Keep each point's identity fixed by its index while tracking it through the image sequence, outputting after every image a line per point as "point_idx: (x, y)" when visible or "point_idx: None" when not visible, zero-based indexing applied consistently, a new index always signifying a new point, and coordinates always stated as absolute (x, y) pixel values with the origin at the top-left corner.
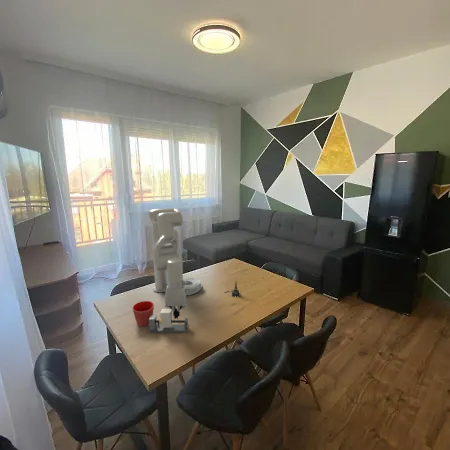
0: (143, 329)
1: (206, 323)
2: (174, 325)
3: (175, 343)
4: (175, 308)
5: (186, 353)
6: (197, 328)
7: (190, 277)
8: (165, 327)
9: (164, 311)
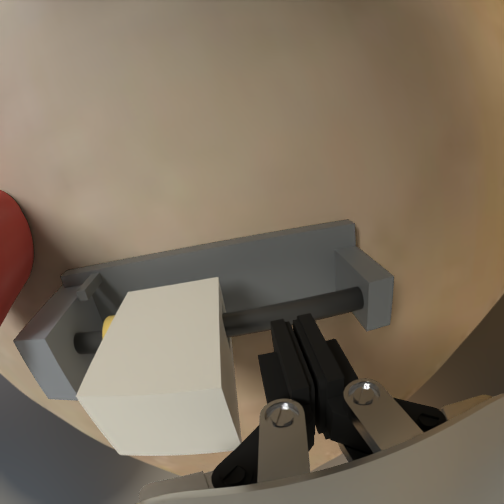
0: None
1: (453, 171)
2: (236, 261)
3: None
4: (309, 433)
5: None
6: (410, 236)
7: None
8: None
9: (148, 439)
